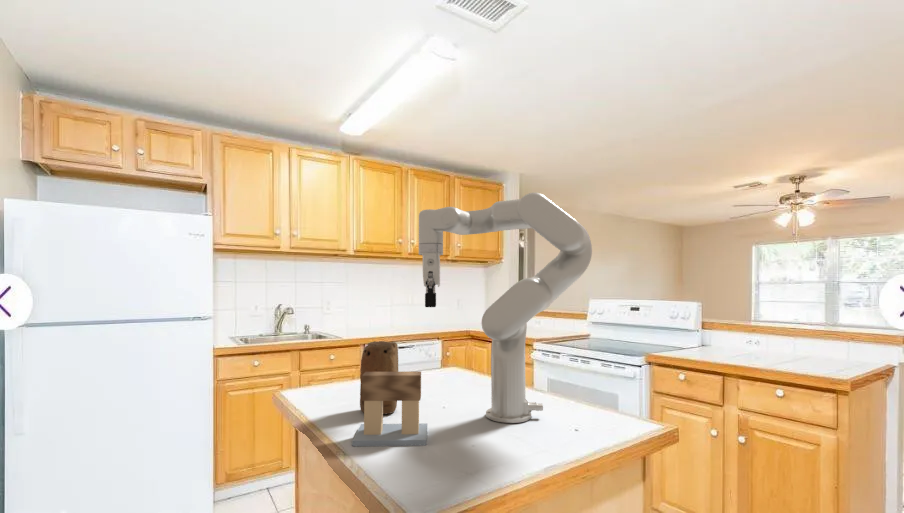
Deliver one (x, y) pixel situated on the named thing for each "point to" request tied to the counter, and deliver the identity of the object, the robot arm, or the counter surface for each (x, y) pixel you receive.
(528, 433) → the counter surface
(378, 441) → the base
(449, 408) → the counter surface
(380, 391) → the beam
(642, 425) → the counter surface
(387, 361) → the brown rounded tall lump
